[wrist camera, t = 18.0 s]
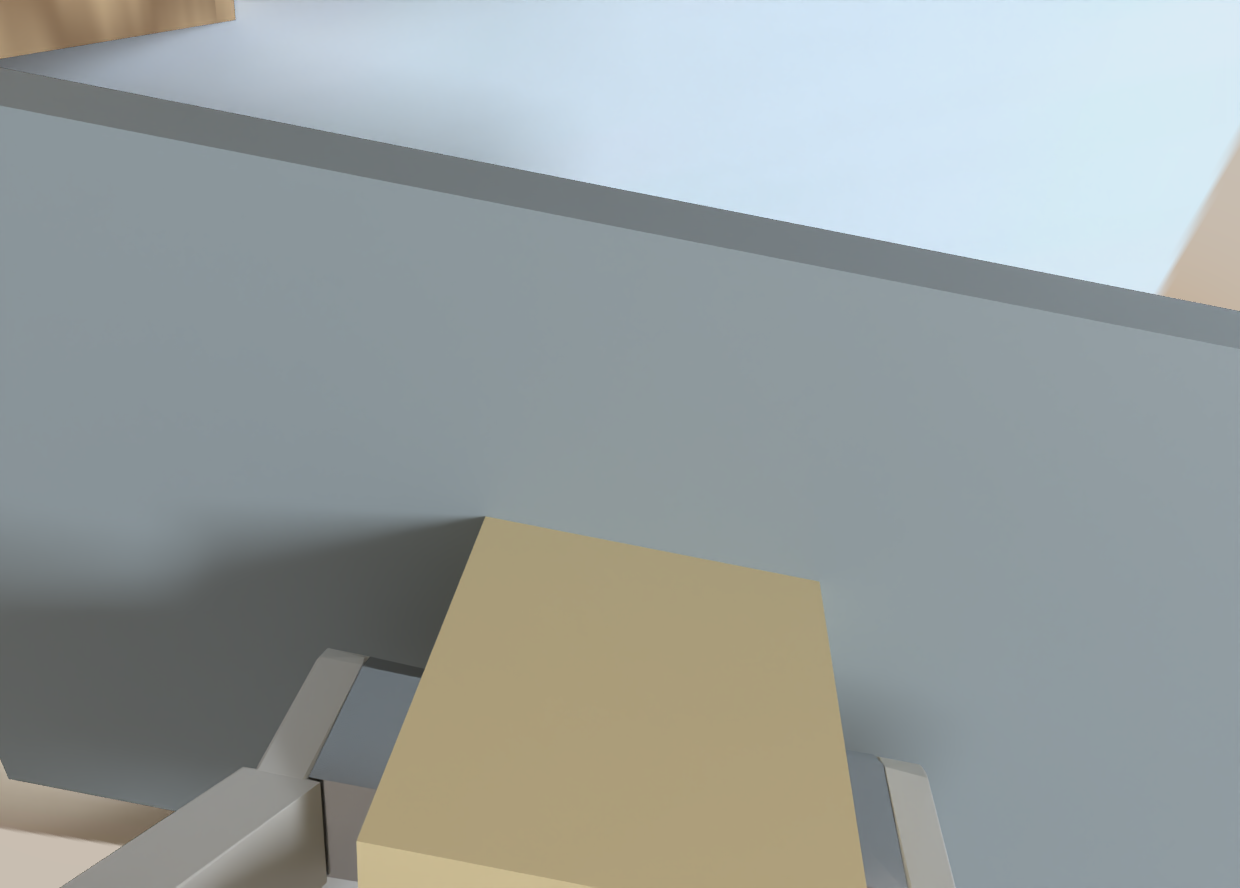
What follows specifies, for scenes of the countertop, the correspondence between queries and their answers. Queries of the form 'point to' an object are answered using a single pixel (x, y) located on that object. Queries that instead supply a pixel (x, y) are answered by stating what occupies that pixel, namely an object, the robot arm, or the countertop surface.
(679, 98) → the countertop surface
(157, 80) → the countertop surface
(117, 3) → the box
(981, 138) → the countertop surface
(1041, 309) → the lid
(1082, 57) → the countertop surface
